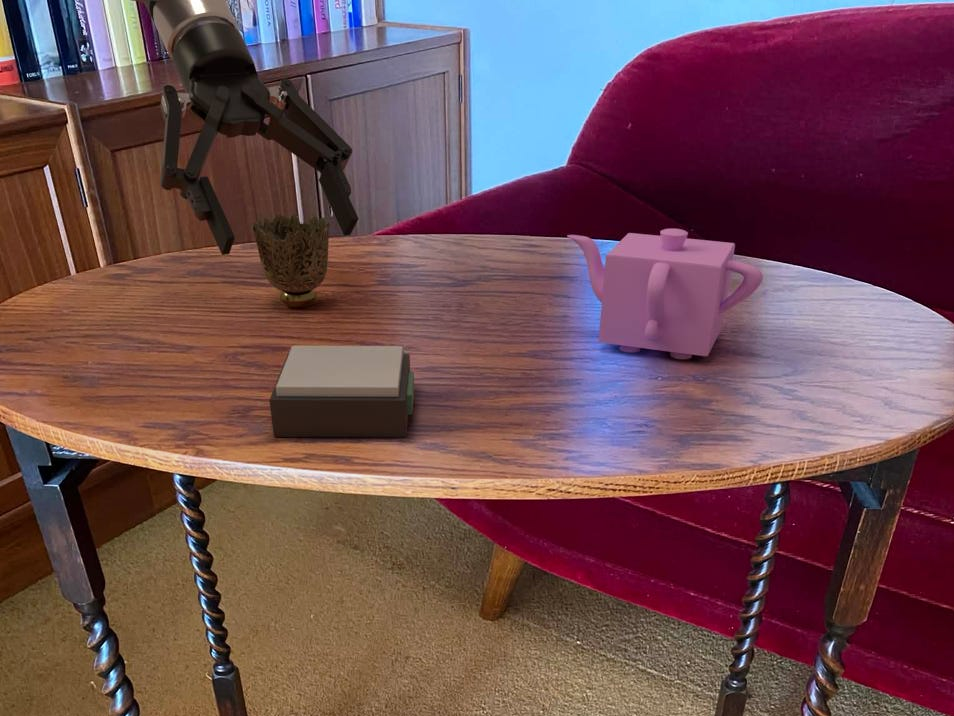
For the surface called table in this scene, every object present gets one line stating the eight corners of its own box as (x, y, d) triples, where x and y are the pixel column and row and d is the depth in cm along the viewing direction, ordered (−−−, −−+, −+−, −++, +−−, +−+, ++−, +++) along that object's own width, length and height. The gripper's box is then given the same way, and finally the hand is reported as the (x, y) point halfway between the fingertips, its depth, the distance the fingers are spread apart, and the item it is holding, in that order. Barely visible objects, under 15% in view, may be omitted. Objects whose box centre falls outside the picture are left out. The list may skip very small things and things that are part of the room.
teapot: (541, 352, 88) (547, 236, 83) (581, 309, 99) (589, 203, 93) (739, 379, 84) (761, 257, 78) (758, 331, 94) (778, 220, 88)
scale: (273, 437, 72) (267, 388, 70) (291, 387, 81) (286, 343, 78) (411, 437, 73) (410, 389, 70) (415, 388, 81) (414, 343, 79)
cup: (249, 311, 97) (239, 227, 92) (279, 291, 103) (270, 211, 98) (319, 318, 96) (312, 233, 91) (345, 297, 101) (339, 216, 97)
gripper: (306, 69, 106) (385, 241, 105) (78, 82, 93) (165, 277, 93) (326, 14, 99) (410, 197, 98) (84, 21, 87) (178, 230, 86)
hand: (292, 236), depth 95 cm, fingers open, 13 cm apart
